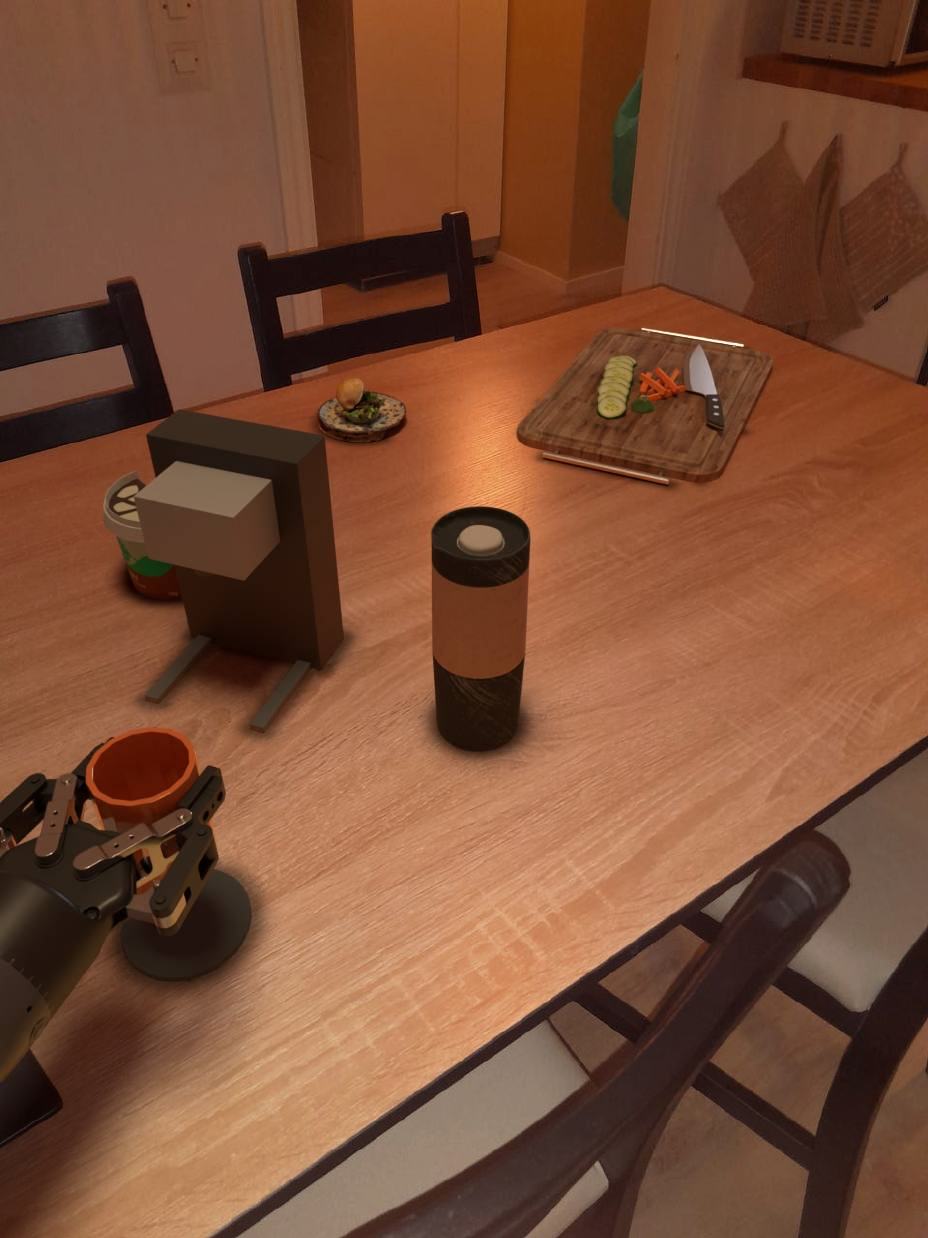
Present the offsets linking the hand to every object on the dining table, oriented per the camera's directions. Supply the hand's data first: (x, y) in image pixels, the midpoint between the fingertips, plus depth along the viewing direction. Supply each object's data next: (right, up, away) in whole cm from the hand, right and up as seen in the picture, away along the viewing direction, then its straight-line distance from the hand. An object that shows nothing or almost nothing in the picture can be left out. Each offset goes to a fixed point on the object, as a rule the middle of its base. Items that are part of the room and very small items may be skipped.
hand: (167, 761), depth 61 cm
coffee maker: (-2, +4, +29) cm, 29 cm away
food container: (-13, +12, +39) cm, 43 cm away
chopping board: (+45, +39, +74) cm, 95 cm away
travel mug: (+20, 0, +23) cm, 31 cm away
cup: (-1, -7, +3) cm, 7 cm away
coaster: (-1, -13, +7) cm, 15 cm away
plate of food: (+5, +35, +68) cm, 77 cm away
